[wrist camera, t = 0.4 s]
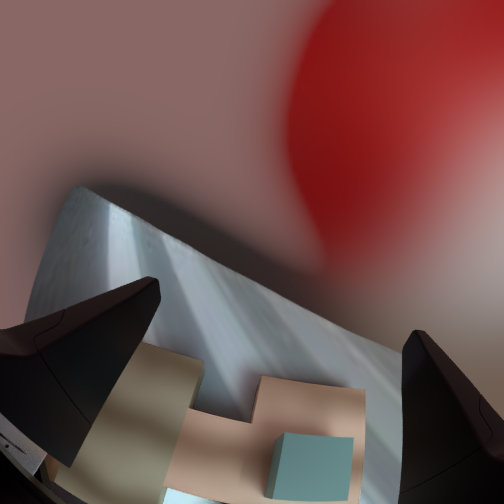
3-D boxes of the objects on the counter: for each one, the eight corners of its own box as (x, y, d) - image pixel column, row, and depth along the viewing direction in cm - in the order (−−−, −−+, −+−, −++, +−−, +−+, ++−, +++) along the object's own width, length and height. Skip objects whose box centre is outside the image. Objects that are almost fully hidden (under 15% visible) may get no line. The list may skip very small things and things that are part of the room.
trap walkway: (336, 549, 10) (368, 559, 6) (54, 475, 11) (19, 465, 8) (353, 398, 22) (381, 375, 18) (115, 342, 23) (99, 309, 20)
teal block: (330, 500, 12) (347, 500, 10) (264, 497, 13) (272, 499, 11) (337, 445, 16) (353, 437, 14) (275, 439, 17) (284, 432, 15)
